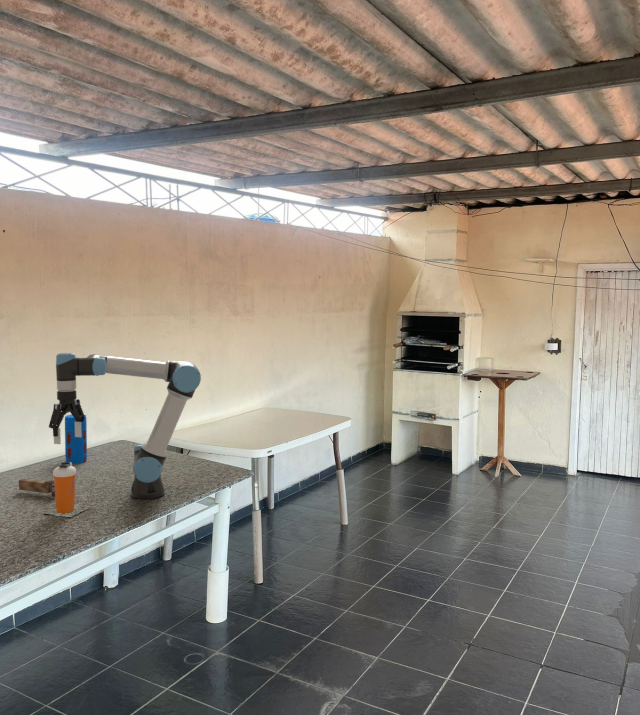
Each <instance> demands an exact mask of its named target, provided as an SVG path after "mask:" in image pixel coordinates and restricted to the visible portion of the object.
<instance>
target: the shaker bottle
mask: <svg viewBox="0 0 640 715" xmlns="http://www.w3.org/2000/svg"><path fill="white" fill-rule="evenodd" d="M76 475H77V469H76V467H75V466H73V464H72V463H71V462H66V461H65V462H63V461H62V462H60V464H58V466H57V467H55V468H54V469H53V472H52V476H53V479H54V484H53V485H54V487H55V500H54V502H55V508H56V512H57V513H62V514H65V513H70V512H73V511H74V508H75V505H76V504H75V502H76Z"/></svg>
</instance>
